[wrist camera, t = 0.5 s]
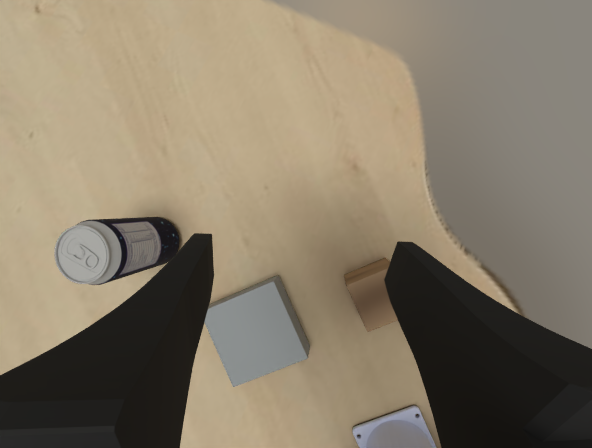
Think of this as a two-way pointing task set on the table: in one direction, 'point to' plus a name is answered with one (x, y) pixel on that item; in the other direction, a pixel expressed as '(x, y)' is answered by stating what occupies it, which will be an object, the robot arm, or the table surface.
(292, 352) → the grey block
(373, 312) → the walnut cube
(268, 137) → the table surface
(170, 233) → the beverage can
